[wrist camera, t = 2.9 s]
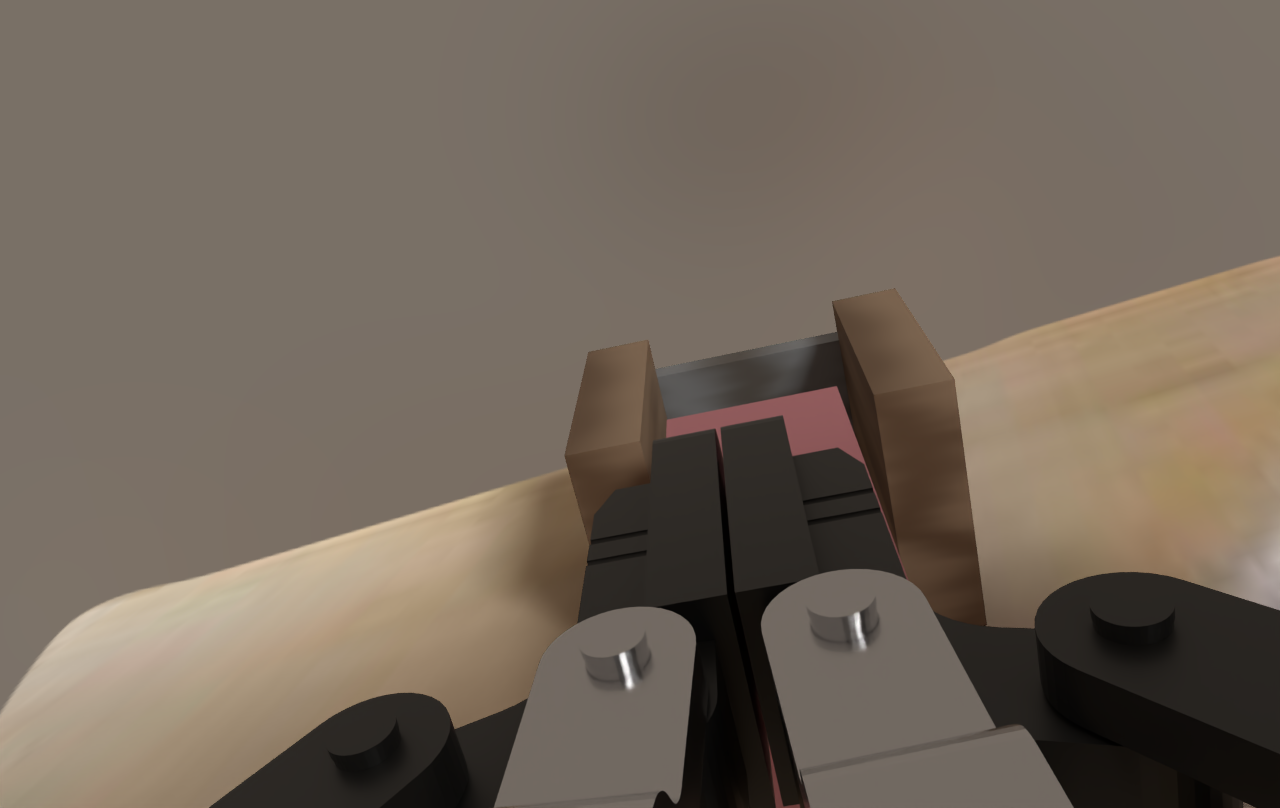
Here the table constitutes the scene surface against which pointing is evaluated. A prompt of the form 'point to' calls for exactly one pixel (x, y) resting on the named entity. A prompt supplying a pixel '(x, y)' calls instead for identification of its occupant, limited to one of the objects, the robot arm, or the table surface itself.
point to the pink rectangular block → (809, 429)
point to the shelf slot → (850, 359)
